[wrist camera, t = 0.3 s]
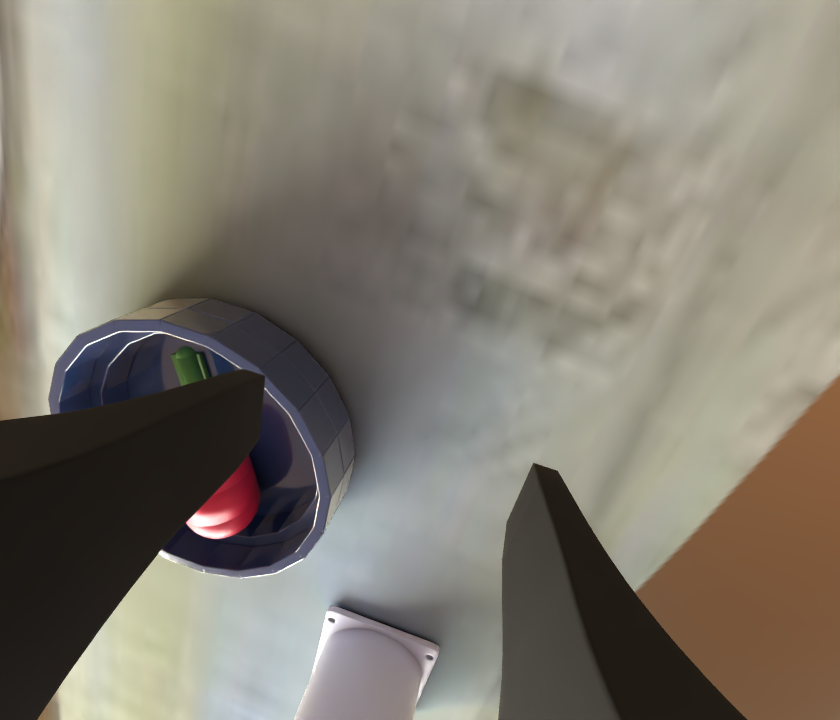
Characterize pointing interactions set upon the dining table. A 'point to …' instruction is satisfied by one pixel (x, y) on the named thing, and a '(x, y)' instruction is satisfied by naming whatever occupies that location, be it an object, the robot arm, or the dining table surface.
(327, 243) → the dining table surface
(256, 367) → the bowl
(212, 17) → the dining table surface
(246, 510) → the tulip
